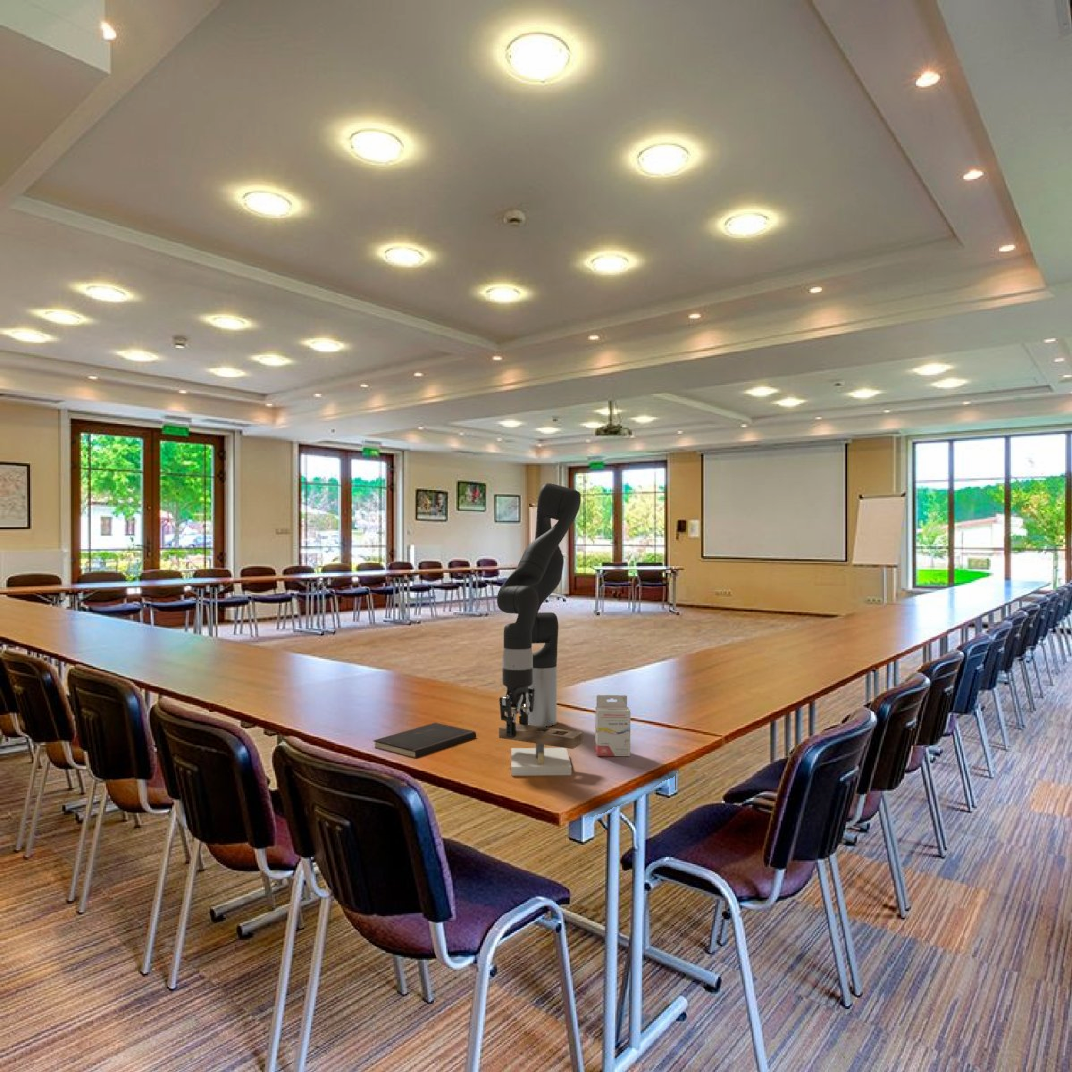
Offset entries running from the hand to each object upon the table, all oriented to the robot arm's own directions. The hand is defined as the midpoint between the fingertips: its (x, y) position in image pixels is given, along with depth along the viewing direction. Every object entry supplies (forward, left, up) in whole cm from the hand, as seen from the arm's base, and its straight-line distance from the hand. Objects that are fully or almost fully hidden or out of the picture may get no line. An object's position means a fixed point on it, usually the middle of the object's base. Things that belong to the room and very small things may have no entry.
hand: (517, 733), depth 172 cm
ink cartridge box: (-5, +24, -7) cm, 26 cm away
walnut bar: (+3, +6, -1) cm, 6 cm away
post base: (+3, +5, -7) cm, 9 cm away
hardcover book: (-18, -25, -8) cm, 31 cm away
